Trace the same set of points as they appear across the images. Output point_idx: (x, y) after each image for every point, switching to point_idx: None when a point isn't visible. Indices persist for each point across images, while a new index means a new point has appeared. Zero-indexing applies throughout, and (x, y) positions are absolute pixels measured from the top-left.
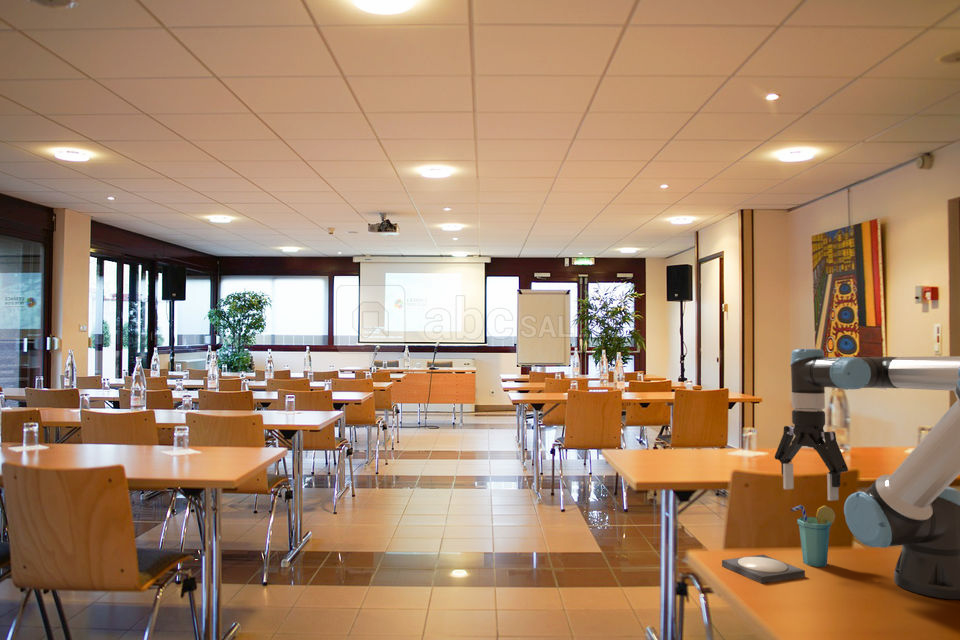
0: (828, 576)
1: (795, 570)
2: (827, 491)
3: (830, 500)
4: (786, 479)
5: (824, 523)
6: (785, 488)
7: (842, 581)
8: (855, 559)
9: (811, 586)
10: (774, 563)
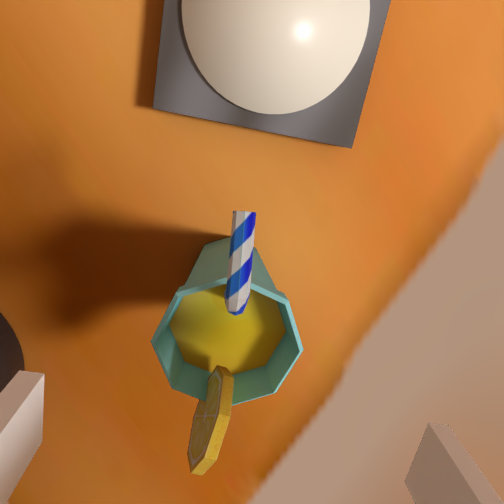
0: (124, 187)
1: (169, 74)
2: (10, 422)
3: (18, 373)
4: (465, 495)
5: (208, 381)
6: (433, 428)
7: (69, 180)
8: (191, 403)
9: (77, 28)
10: (254, 67)
